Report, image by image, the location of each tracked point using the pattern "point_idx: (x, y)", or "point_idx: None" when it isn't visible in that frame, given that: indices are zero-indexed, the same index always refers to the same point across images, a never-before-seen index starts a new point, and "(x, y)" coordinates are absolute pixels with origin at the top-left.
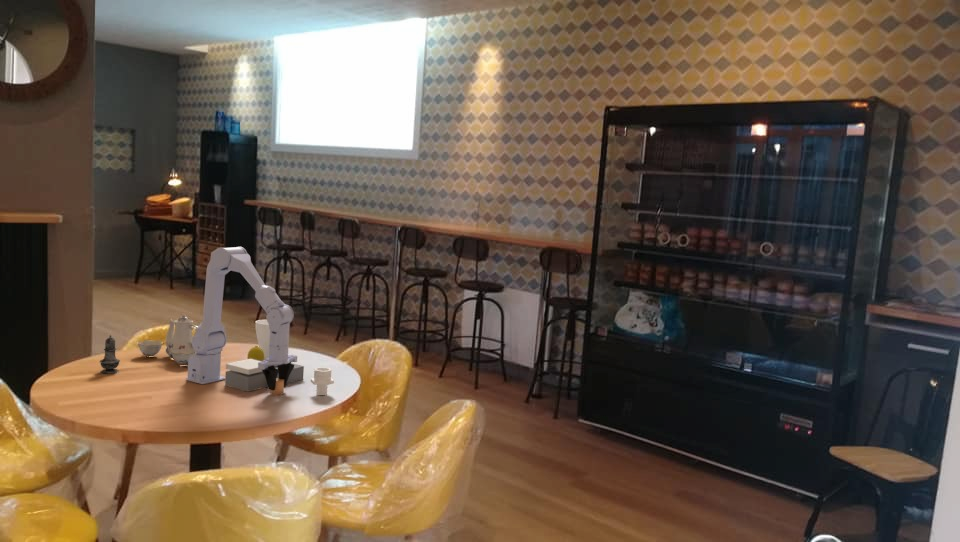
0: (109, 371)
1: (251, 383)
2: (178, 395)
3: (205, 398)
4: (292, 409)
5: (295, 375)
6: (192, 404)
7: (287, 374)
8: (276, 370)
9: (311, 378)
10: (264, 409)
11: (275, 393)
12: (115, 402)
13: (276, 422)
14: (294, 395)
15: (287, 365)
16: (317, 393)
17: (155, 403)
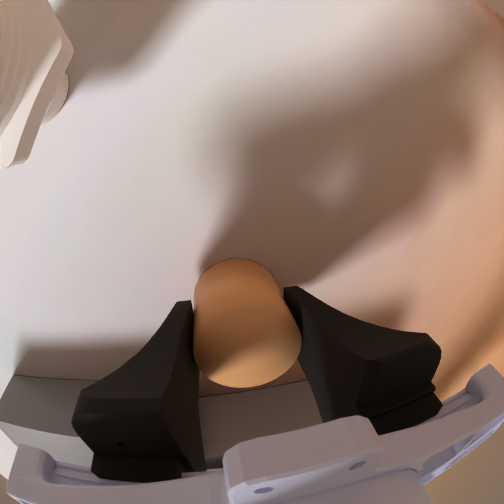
0: None
1: (315, 406)
2: (442, 397)
3: (448, 357)
4: (387, 5)
5: (39, 399)
6: (491, 322)
7: (171, 353)
8: (414, 346)
9: (7, 161)
10: (462, 114)
11: (270, 275)
12: None
13: (484, 6)
14: (184, 179)
15: (173, 439)
16: (63, 87)
17: (493, 359)
